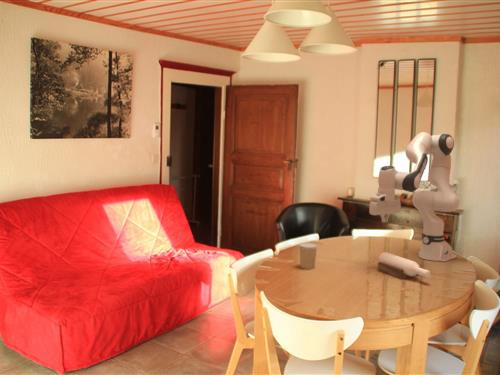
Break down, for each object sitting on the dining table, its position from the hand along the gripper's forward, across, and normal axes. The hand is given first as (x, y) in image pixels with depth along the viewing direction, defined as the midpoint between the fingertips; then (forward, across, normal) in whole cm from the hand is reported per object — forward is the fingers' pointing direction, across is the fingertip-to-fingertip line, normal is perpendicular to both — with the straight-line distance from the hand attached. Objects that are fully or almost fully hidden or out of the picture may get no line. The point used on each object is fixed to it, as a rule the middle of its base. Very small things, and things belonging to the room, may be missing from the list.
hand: (384, 222), depth 273 cm
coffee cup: (+25, +36, -20) cm, 48 cm away
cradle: (+25, 0, +12) cm, 28 cm away
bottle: (+20, +1, +2) cm, 20 cm away
